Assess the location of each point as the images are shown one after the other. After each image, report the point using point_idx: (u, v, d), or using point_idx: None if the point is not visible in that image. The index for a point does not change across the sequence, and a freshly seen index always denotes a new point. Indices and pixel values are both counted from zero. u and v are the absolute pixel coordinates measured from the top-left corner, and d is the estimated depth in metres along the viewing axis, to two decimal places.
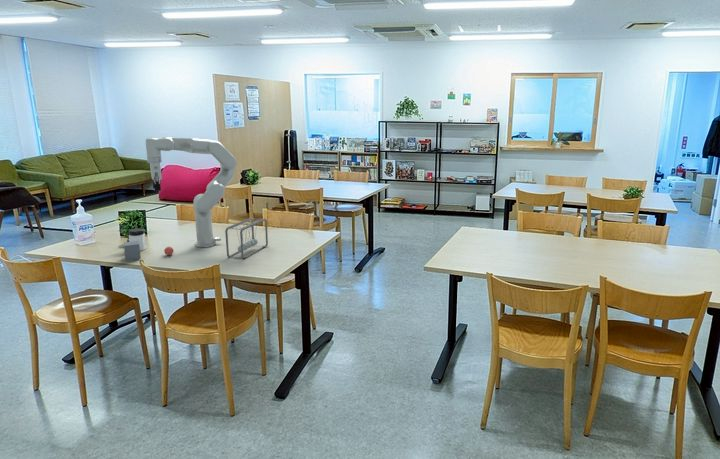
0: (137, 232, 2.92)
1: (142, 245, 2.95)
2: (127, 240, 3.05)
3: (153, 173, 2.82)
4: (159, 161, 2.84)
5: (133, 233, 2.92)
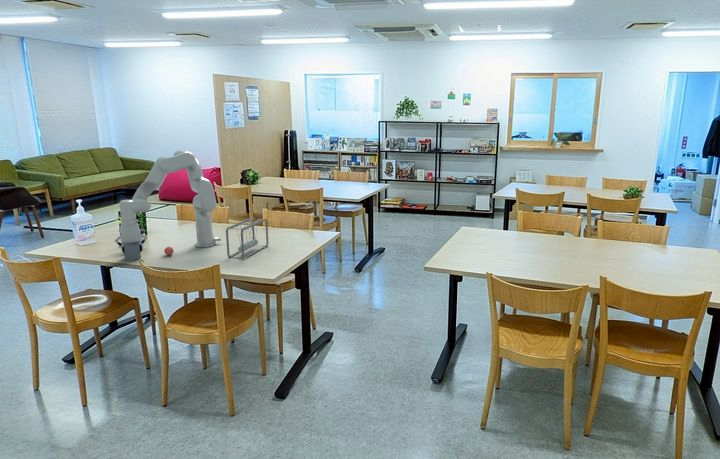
0: None
1: (142, 245, 2.95)
2: None
3: (139, 234, 2.78)
4: None
5: None
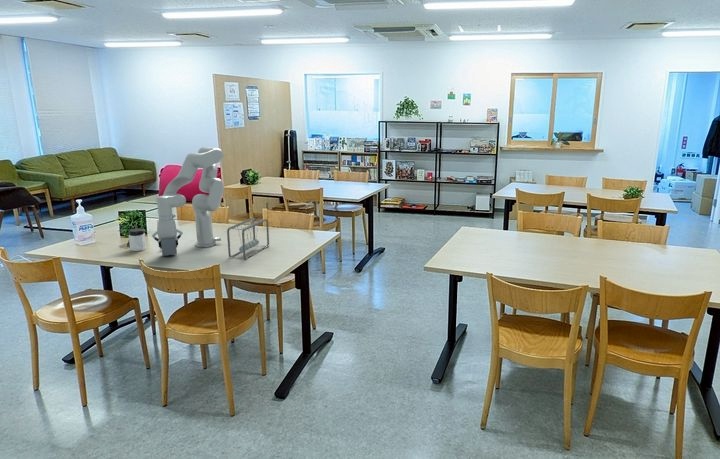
0: (137, 232, 2.92)
1: (142, 245, 2.95)
2: (128, 240, 3.05)
3: (176, 229, 2.83)
4: None
5: (133, 233, 2.92)
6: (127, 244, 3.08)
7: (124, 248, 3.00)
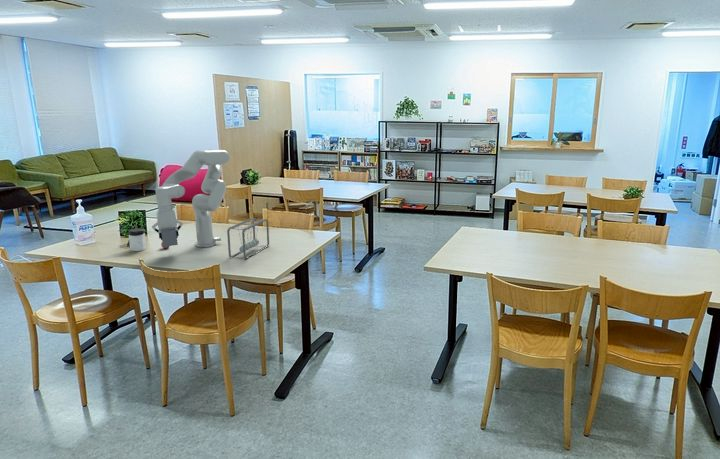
0: (137, 232, 2.92)
1: (142, 245, 2.95)
2: None
3: (176, 220, 2.82)
4: None
5: (133, 233, 2.92)
6: (127, 244, 3.08)
7: (124, 248, 3.00)
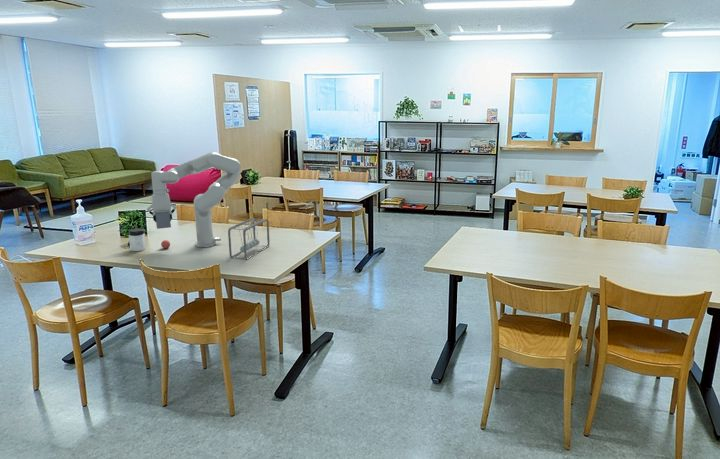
0: (137, 232, 2.92)
1: (142, 245, 2.95)
2: None
3: (170, 203, 2.95)
4: None
5: (133, 233, 2.92)
6: (128, 244, 3.08)
7: (126, 248, 3.00)
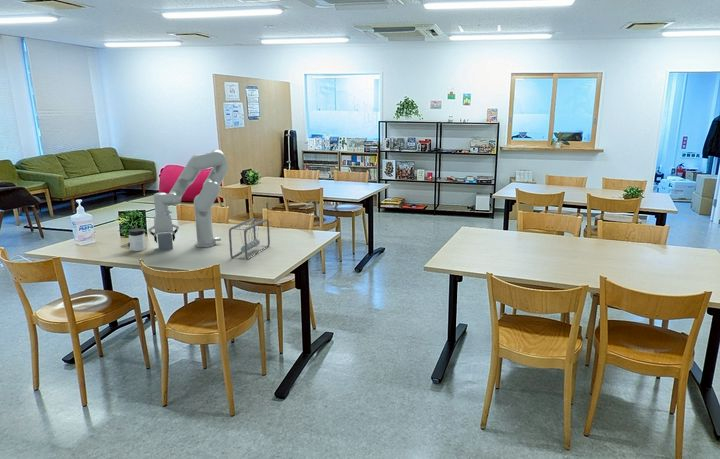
0: (137, 232, 2.92)
1: (142, 245, 2.95)
2: None
3: (172, 224, 2.98)
4: None
5: (133, 233, 2.92)
6: (128, 244, 3.08)
7: None
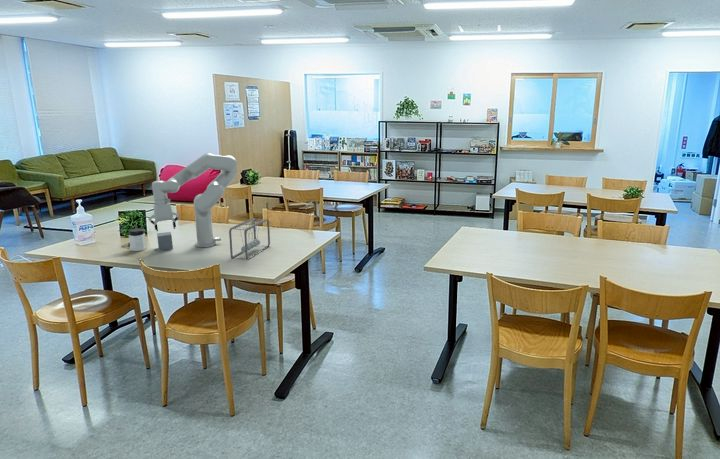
0: (137, 232, 2.92)
1: (142, 245, 2.95)
2: None
3: (172, 212, 2.96)
4: None
5: (133, 233, 2.92)
6: (129, 244, 3.08)
7: None
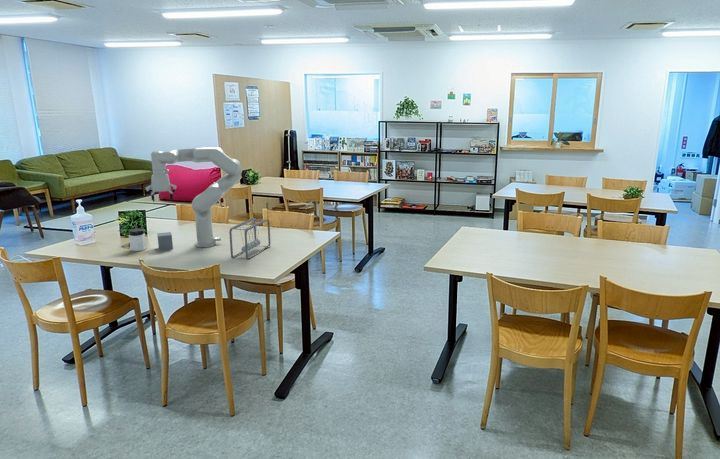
0: (137, 232, 2.92)
1: (142, 245, 2.95)
2: None
3: (169, 184, 2.96)
4: None
5: (133, 233, 2.92)
6: (129, 244, 3.08)
7: None
